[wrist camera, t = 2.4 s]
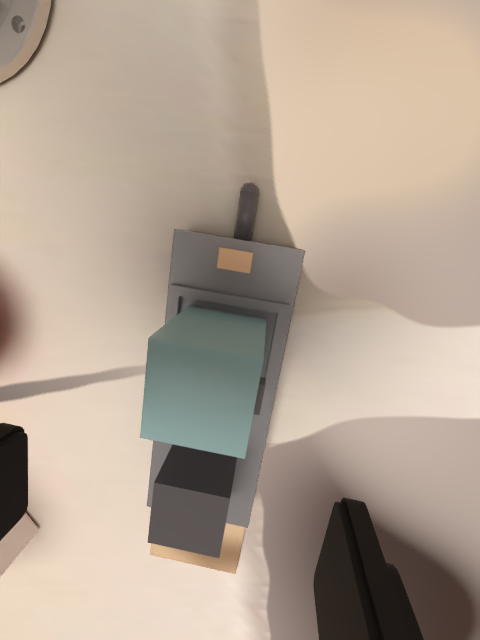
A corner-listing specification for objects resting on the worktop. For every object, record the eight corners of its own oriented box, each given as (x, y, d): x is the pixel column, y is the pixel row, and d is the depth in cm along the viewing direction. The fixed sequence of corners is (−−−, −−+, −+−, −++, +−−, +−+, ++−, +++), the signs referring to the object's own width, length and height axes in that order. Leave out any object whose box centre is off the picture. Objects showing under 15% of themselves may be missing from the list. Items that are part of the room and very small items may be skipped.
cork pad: (158, 496, 28) (155, 502, 28) (246, 515, 28) (246, 521, 27) (152, 548, 30) (149, 554, 29) (236, 567, 29) (235, 573, 29)
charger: (189, 305, 20) (148, 337, 14) (272, 319, 20) (271, 360, 13) (181, 375, 22) (140, 437, 15) (258, 390, 21) (252, 460, 15)
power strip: (192, 175, 21) (147, 139, 14) (312, 193, 21) (335, 167, 13) (159, 482, 28) (116, 576, 20) (249, 501, 27) (240, 605, 20)
